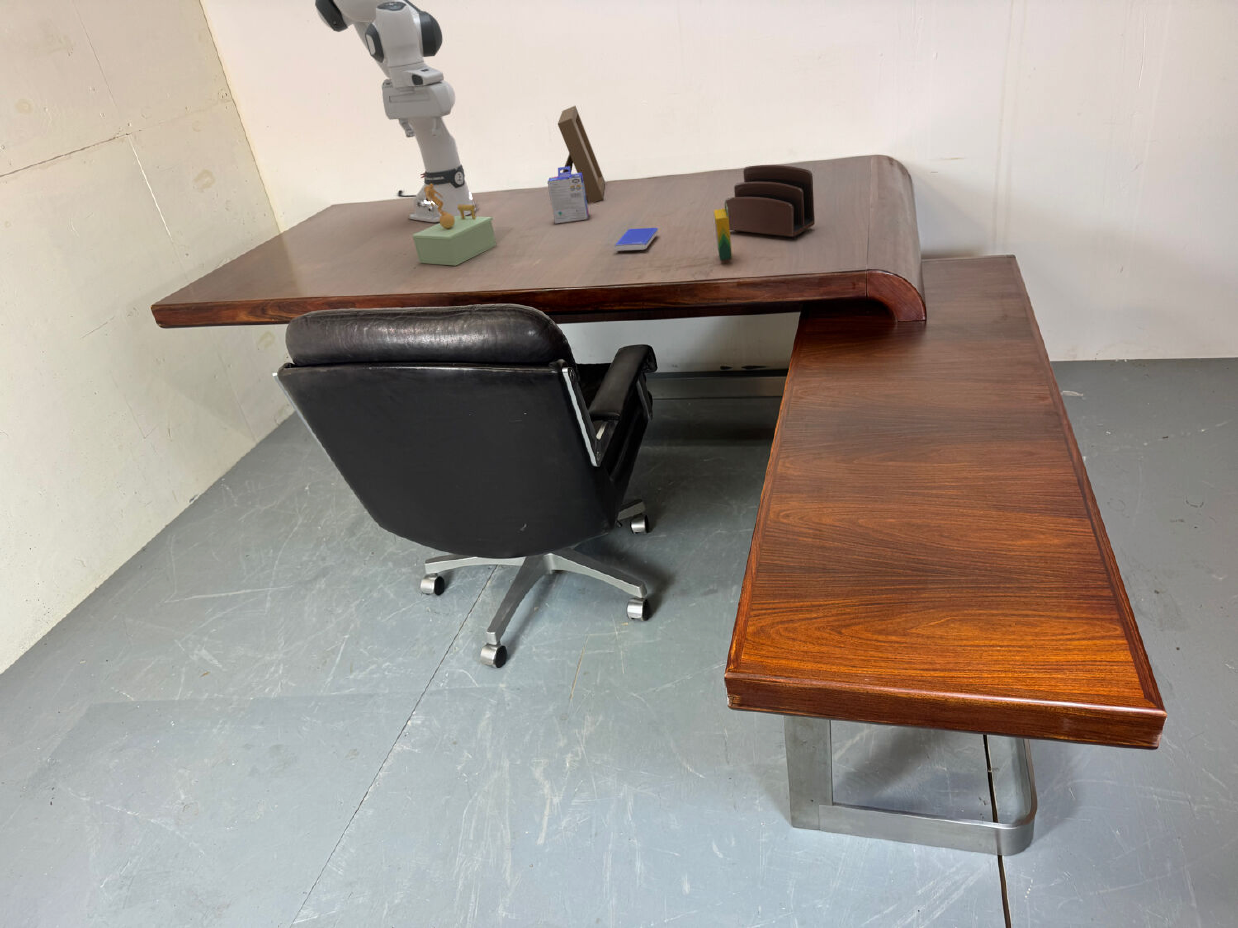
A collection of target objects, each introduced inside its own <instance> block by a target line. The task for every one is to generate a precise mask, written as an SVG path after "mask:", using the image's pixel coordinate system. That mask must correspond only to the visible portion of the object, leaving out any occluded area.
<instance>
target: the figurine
mask: <svg viewBox="0 0 1238 928" xmlns="http://www.w3.org/2000/svg"><path fill="white" fill-rule="evenodd" d="M433 187H434V186H433V184H432V183H431V184H430V185H429V186H426V187H425V188H424V191H425V193H426V197H427V199H428V200H429V202H430V203H431V205H433V204H436V205H437V206H439V207H438V208H437V209H438V212H439V213H440V214H441V216H440V219H439V223H440V224H441V226H442V227H444V228H446V229H449V228H451V227H453V225H454V223H455V219H454V217H453V216H452V215H451V214H449V213H447V212H444V211H443V210H442V209H441V208H442V206H443V202H442V201H441V200H439V199H438V198H437V197H436V196H435V193H437V194H438V195H440V194H439V193H438V192H437V191H435V190H434V189H433ZM428 196H429V197H430V198H431V199H432V202H433V203H432V202H431V200H430V199H429V197H428ZM440 196H441V195H440ZM441 198H443V197H442V196H441ZM432 207H433V206H432Z"/></svg>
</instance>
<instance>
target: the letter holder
mask: <svg viewBox="0 0 1238 928" xmlns="http://www.w3.org/2000/svg"><path fill="white" fill-rule="evenodd" d="M742 172H743V182H738V183H737V182H736V184H734V186H733V191H734V196H733V197H729V198H726V199H725V200H724V202H725V201H726V204H727V207H728V215H729V228H730V231H735V232H745V233H753V234H761V235H772V236H780V237H788V238H794V237H796V236H798V235H799V234H801V233H803V232H805V231H806V230H809V229H810V228H811V227H813V226H815V219H816V218H815V202H814V199H815V198H814V178H813V177H814V175H813V172H812V171H811V170H809V169H806V168H802V167H797V166H791V165H780V164H779V165H778V164H761V165H760V164H759V165H758V164H757V165H750V166H745V167H744V168H743V171H742ZM725 208H726V206H725V205H724V209H725Z"/></svg>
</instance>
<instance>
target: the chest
mask: <svg viewBox="0 0 1238 928" xmlns="http://www.w3.org/2000/svg"><path fill="white" fill-rule="evenodd" d="M495 236H496V235H495V231H494V227H493V223H492V221H490V222H487V223H485V224H483V225H481V226H479V227H477V228H474V229H472V230H470V231H468V232H466V233H463V234H461V235H459V236H457V237H455V238H453V239H450V240H444V239H425V238H413V237H412V239H413V243H414V247H415V251H416V254H417V258H418V263H419V264H430V265H445V266H458V265H460V264H462V263H465V262H466V261H468V260H470V259H472V258H474V257H476V256H478V255H481V254H482V253H484V252H486V251H488V250H490V249H492V248H495V247H496V246H497V241H496V237H495Z"/></svg>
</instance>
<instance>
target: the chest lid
mask: <svg viewBox="0 0 1238 928" xmlns="http://www.w3.org/2000/svg"><path fill="white" fill-rule="evenodd" d="M475 207H476V205H475V206H474V205H458V210H459V211H460V213H461V216H455V217H454V219H455V223H454V225H453V227H451V228H449V229H446V228H444V227H442V226H441V224H440V222H438V223H437V224H435V225H432V226H430V227H428V228H425V229H423V230H420V231H418V232H416V233H414V234H412V239H413V238H425V239H444V240H450V239H453V238H455V237H457V236H459V235H461V234H463V233H466V232H468V231H470V230H472V229H474V228H477V227H479V226H481V225H483V224H485V223H487V222H490V221H491V222H492V221H494V217H493V216H476V214H475V213H476V212H475V211H474V210H475ZM464 211H471V214H470V215H469V216H468V215H465V216H464Z"/></svg>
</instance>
